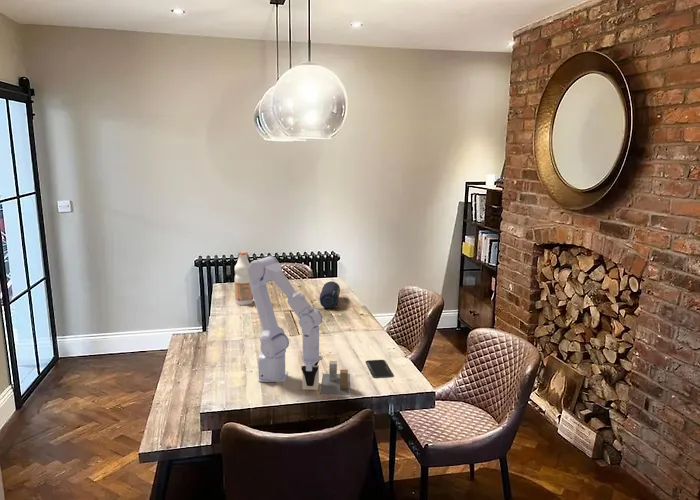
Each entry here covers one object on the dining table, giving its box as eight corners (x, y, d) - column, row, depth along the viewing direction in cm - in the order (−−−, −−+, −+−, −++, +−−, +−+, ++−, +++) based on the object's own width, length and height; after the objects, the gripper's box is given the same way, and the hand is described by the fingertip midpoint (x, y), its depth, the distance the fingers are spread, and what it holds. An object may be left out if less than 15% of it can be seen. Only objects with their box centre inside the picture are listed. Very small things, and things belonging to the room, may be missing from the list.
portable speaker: (337, 310, 260) (337, 292, 258) (318, 310, 260) (318, 291, 258) (340, 296, 285) (340, 279, 283) (323, 296, 285) (323, 279, 283)
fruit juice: (231, 303, 269) (229, 252, 264) (243, 299, 277) (242, 249, 272) (244, 306, 264) (243, 254, 259) (256, 302, 272) (255, 251, 267)
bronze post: (339, 390, 172) (340, 372, 171) (340, 386, 175) (340, 369, 174) (347, 390, 172) (347, 372, 171) (347, 386, 175) (347, 369, 174)
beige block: (302, 389, 173) (302, 371, 171) (304, 382, 178) (304, 365, 176) (317, 389, 173) (317, 371, 171) (318, 382, 178) (318, 365, 176)
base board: (319, 395, 169) (319, 394, 169) (322, 374, 185) (322, 373, 185) (349, 395, 169) (349, 394, 169) (349, 375, 185) (349, 374, 185)
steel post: (329, 380, 179) (329, 364, 178) (329, 377, 182) (329, 361, 180) (336, 380, 179) (336, 364, 178) (336, 377, 182) (337, 361, 180)
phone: (373, 377, 182) (365, 360, 196) (373, 380, 182) (364, 363, 196) (394, 376, 183) (384, 359, 197) (394, 378, 183) (384, 362, 198)
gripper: (321, 353, 165) (320, 391, 168) (323, 337, 179) (323, 372, 182) (299, 353, 165) (299, 391, 168) (304, 337, 179) (304, 372, 182)
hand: (310, 381), depth 175 cm, fingers closed on beige block, 5 cm apart
